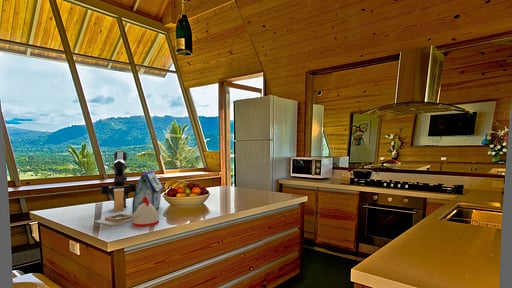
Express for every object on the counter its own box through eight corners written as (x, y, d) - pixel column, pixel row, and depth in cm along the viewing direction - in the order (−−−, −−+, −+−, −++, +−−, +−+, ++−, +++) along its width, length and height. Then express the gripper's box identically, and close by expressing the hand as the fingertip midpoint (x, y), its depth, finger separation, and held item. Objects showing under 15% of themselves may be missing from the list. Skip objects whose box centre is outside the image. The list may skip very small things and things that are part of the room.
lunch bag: (158, 213, 183) (158, 173, 182) (130, 214, 180) (130, 173, 180) (163, 206, 205) (163, 169, 204) (139, 206, 202) (139, 170, 202)
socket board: (124, 214, 181) (124, 211, 181) (142, 217, 174) (142, 214, 174) (94, 222, 163) (94, 218, 163) (112, 226, 156) (112, 222, 156)
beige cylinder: (116, 209, 171) (116, 188, 171) (125, 209, 171) (125, 188, 171) (111, 211, 166) (111, 189, 166) (121, 212, 166) (120, 189, 165)
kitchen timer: (153, 218, 171) (153, 194, 171) (162, 223, 161) (162, 197, 161) (129, 223, 162) (129, 196, 162) (137, 228, 152) (137, 200, 152)
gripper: (101, 171, 168) (99, 193, 158) (135, 170, 176) (136, 191, 166) (102, 182, 175) (101, 204, 165) (135, 181, 183) (135, 201, 173)
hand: (118, 200), depth 167 cm, fingers closed on beige cylinder, 5 cm apart
